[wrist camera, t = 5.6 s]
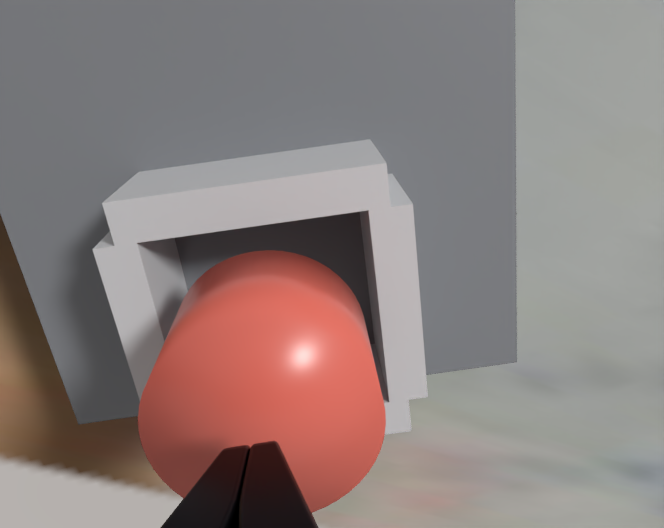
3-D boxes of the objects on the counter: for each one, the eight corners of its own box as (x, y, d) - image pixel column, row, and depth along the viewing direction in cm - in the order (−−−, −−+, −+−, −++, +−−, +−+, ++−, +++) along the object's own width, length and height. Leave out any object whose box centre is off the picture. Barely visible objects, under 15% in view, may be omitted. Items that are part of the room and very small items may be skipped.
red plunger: (198, 428, 14) (170, 535, 11) (153, 265, 12) (107, 338, 9) (374, 403, 14) (395, 503, 11) (355, 236, 12) (372, 301, 9)
